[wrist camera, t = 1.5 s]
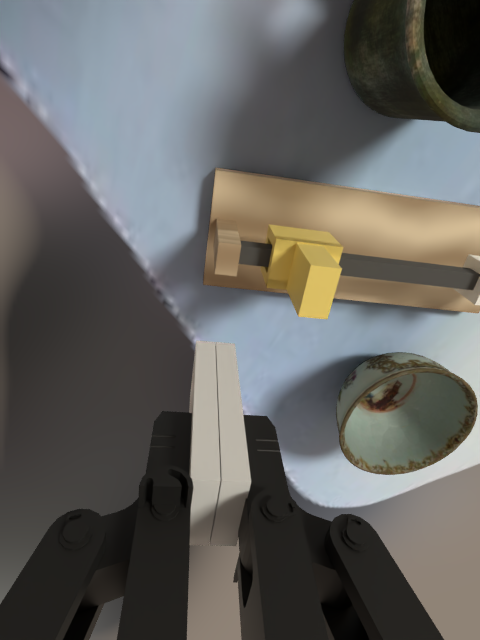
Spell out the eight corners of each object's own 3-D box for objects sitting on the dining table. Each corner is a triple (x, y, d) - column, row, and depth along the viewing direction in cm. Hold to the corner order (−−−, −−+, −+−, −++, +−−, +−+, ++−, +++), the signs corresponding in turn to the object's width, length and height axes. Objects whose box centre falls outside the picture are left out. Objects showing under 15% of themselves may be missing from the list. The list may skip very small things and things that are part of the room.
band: (468, 254, 33) (492, 268, 30) (481, 256, 33) (506, 270, 30) (453, 288, 34) (474, 304, 32) (465, 289, 35) (488, 306, 32)
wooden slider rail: (215, 167, 32) (218, 184, 25) (515, 211, 36) (589, 236, 29) (203, 278, 37) (202, 318, 30) (469, 306, 41) (524, 348, 34)
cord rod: (236, 239, 30) (237, 245, 29) (513, 273, 33) (525, 279, 32) (233, 257, 30) (234, 263, 29) (505, 288, 34) (517, 295, 33)
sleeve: (268, 224, 31) (287, 261, 24) (328, 232, 31) (365, 269, 24) (260, 269, 32) (275, 315, 25) (317, 275, 33) (348, 322, 26)
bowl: (392, 432, 49) (423, 486, 42) (298, 406, 46) (315, 460, 39) (460, 347, 43) (508, 394, 36) (358, 310, 40) (390, 353, 33)
